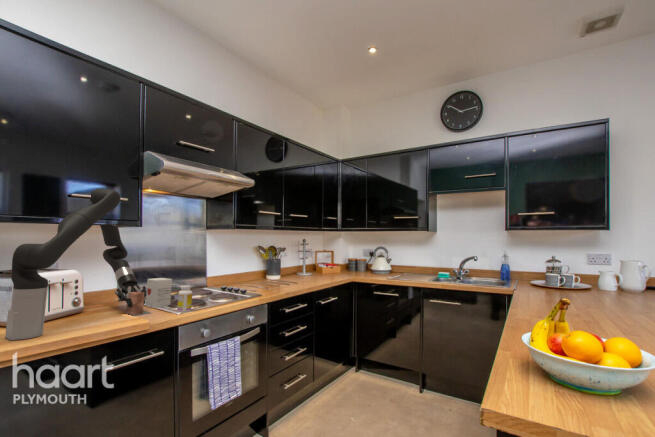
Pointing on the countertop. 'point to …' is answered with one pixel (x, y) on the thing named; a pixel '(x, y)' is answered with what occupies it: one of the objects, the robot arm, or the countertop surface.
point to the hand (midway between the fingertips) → (137, 305)
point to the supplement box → (158, 292)
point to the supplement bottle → (184, 299)
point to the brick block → (136, 303)
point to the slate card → (141, 314)
